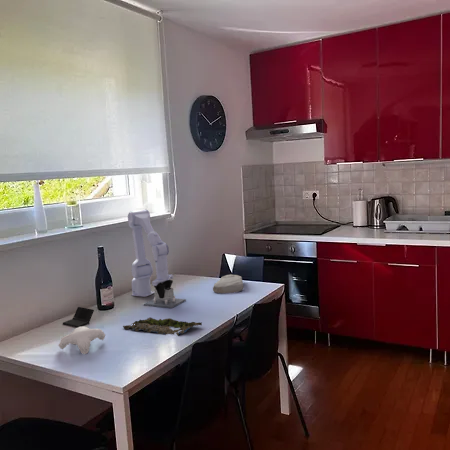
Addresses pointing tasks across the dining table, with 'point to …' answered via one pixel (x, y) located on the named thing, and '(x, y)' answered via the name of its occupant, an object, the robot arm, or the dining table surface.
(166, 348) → the dining table surface
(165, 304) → the grey knobbed plate
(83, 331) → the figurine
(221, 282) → the stone
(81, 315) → the handheld gaming console
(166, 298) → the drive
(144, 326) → the miniature landscape
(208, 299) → the dining table surface
